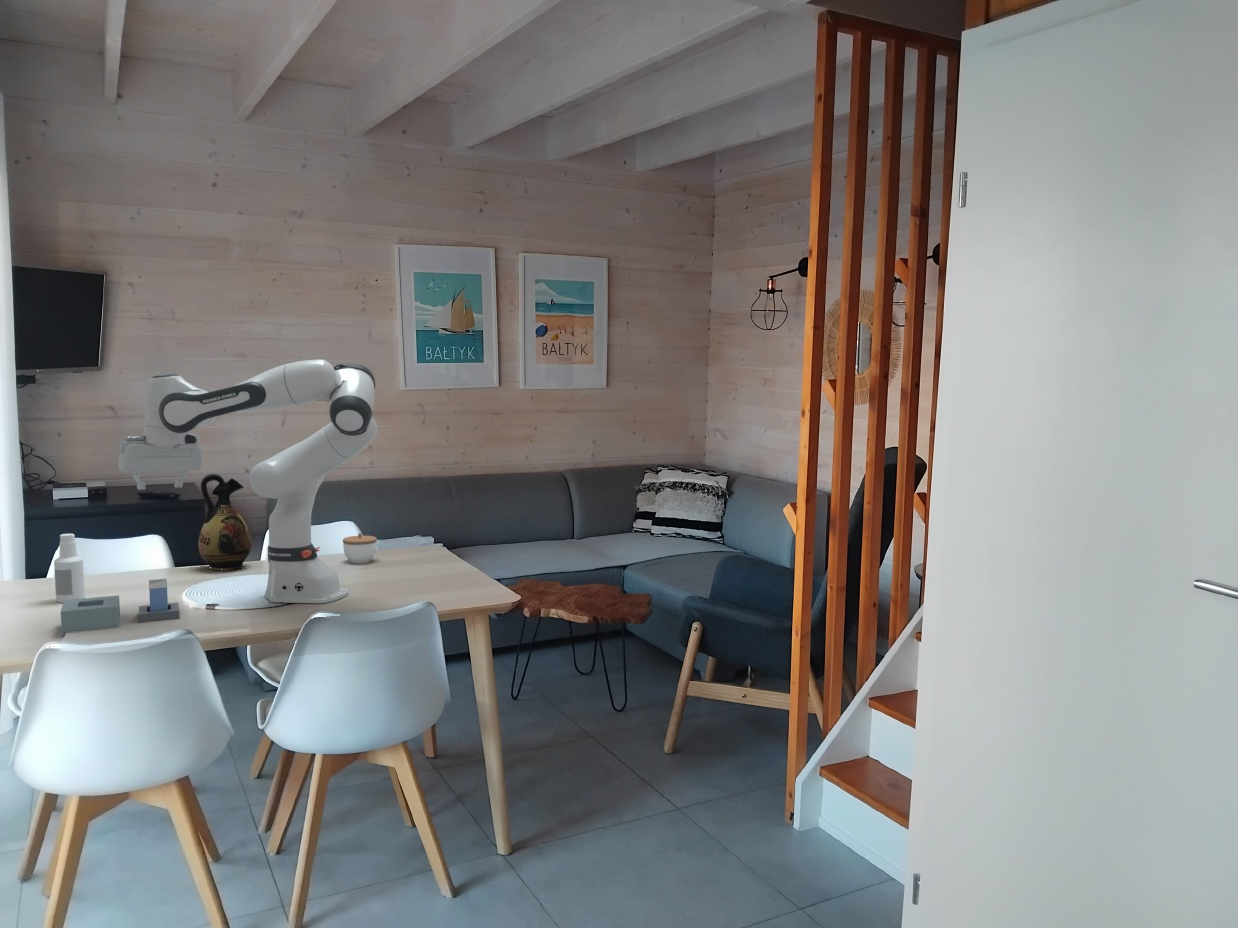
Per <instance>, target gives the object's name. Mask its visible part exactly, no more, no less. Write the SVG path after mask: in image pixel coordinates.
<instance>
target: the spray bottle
mask: <svg viewBox="0 0 1238 928" xmlns="http://www.w3.org/2000/svg"><path fill="white" fill-rule="evenodd" d="M75 536H76V535H75V534H74V533H62V534H59V538H60V539H59V557H58V558H56V559H54V560H53V564H54V565H53V567H54V585H55V601H56V602H57V603H61V604H63V602H64V600H72V599H84V598H85V597H86V596H85V595H86V594H85V573H84V559H83V558H82V557H80V556H78V552H77V542H76V540H75Z"/></svg>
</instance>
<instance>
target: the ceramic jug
mask: <svg viewBox="0 0 1238 928" xmlns="http://www.w3.org/2000/svg"><path fill="white" fill-rule="evenodd" d="M213 481H216V482H218V485H217V486H216V487H215V488H214V489H213V490H212V492H211V493H212V495H213V496H217V501H216V502H215V505H214V503H213V501H212V499H211V497H210V494H209V492H208V486H207V485H208V483H209V482H213ZM244 488H245V486H243V485H242V484H240V482H239V481H237V480H235V479H234V478H233V477H231V478H230V479H228V481H227V482H226V481H225V479H224V478H223V476H221V475H219V474H217V473H216V474H215V473H209V474H206V475H205V476H204V477H203V478H202V479H201V482H200V489H201V492H202V493H201V494H202V496H203V498H204V501H205V504H206V506H207V511H206V512H207V513H206V518H205V522H204V523H203V525H202V526H201V530H200V531H199V537H198V550H199V551H198V552H199V555H200V557H201V559H203V561H204V562H205V563H206V564H207V565H208V569H209V570H212V569H216V570H215V571H219V570H221V569H222V570H226V571H237V570H240V568H241V567H242V568H244V567H243V564H244V562H245V561H246V559H247V558H248V556H249V555H250V554H251V550H252V545H253V544H252V537H251V533H250V530H249V528H248V527H249V526H248V525H247V524H246V522H245V520H244V519H243V517H242V516H241V515H240V513H239V512H238V511H237V509H236V508H235V507H234V506H233V504H232V502H231V500H230V496H231V495H233V493H235V492H237V491H240V490H241V489H244ZM209 567H211V568H209ZM242 568H241V569H242ZM226 571H225V572H226Z"/></svg>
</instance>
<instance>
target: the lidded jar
mask: <svg viewBox="0 0 1238 928" xmlns="http://www.w3.org/2000/svg"><path fill="white" fill-rule="evenodd" d="M377 540H378V539H377V537H376V536H372V535H362V533H357V535H351V536H347V537H344V538H343V539H342V543H343V544H342V545H343V552H344V555H345V558H346V559H347V560H348V561H350V563H351V564H357V565H358V564H369V563H370V562H371V560H372V559H373V558H374V556H376V552H377V542H378V541H377Z"/></svg>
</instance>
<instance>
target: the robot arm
mask: <svg viewBox="0 0 1238 928" xmlns="http://www.w3.org/2000/svg"><path fill="white" fill-rule="evenodd" d="M145 388H146V389H145V397H144V410H145V419H144V421H143V433H142V434H143V435H141V436H139V435H137V436H131V435H130V436H126V437H124V438H122V439H121V440H120V441H119V444H118V445H119V448H118V450H119V457H118V463H117V467H118V470H119V471H120V472H121V473H123V474H132V477H133V478H134V480H135V482H136V488H137V490H139V491H143V490H146V488H147V487H146V485H147V483H146V482H144V481H143V480H141V477H142V474H144V473H163V472H165V473H167V472H178V474H179V477H178V479H174V485H173V486H174V488H176V489H180V488H181V489H183V484H184V483H183V482H184V481H185V480H186V478H187V476H188V474H189V473H188V472H192V471H193V472H195V471H197V472H198V471H200V470H201V468H202V467H203V451H202V447H201V446H200V445H199V444H200V442H201V437H200V436H199V435H197V434H194V433H191V432H190V431H193V430H197V429H199V428H200V429H201V428H204V427H207V426H211V425H212V424H214V423H216V421H218V420H219V418H220V416H224V415H227V414H232V413H235V412H241V411H249V410H252V411H253V410H280V409H282V410H283V409H288V408H294V407H295V408H296V407H298V406H303V405H307V404H309V403H313V402H325V403H330V405H329V412H328V413H329V418H330V422H329V423H328V424H326V425H324V427H322V428H321V429H319V430H317V431H316V432H314V433H313V434H312V435H310V436H308V437H307V438H305V439H303V440H302V441H300V442H298V443H295V444H294V445H292V446H290V447H288V448H285V449H284V450H282V451H280V452H278V453H276V454H275V455H273V456H271V457H269V458H268V459H265V460H263V461H261V462H259V463H257V464H256V465H254V467H253V468H252V469H251V470H250V473H249V484H250V487H251V489H252V491H253V492H254V493H255V494H256V495H257V496H258V497H261V498H266V499H275V500H276V499H277V502H276V505H275V508H274V509H273V511H272V512H271V513H270V515H269V517H268V543H269V545H268V546H267V559H268V565H269V566H268V578H267V584H266V589H265V592H264V598H266V599H267V598H268V601H269V603H281V602H283V603H285V604H286V603H290V604H291V603H292V604H325V603H331V602H335V601H337V600H340V599H342V598H344V597H346V596H347V595H348V594H349V589H348V588H343V587H341V586H340V585H341V584H340V580H339V575H338V572H336V570H334V569H333V568H332V567H330V566H329V565H327V564H326V563H325V562H324V561H322V560H321V559H320V558H319V557H318V554H317V553H318V552H320V551H321V546H318V547H315V546H314V544H313V543H312V513H313V512H312V511H313V508H314V503H315V499H316V496H317V494H318V490H319V488H320V487H321V485H322V483H323V482H324V480H325V476H326V475H327V474H330V473H332V472H334V470H336V469H337V468H339V467H341V466H342V465H344V464H345V463H346V462H349V461H350V460H351V459H352V458H354V457H355V456H357V455H358V454H360V453H361V452H362V451H364V449H366V448H367V447H368V446H369V445H370V444H372V442H374V440H375V439H376V437H377V435H378V432H379V431H378V430H379V429H378V428H379V427H378V424H377V422H376V419H375V418H374V417H373V411H374V405H375V401H376V397H375V395H376V394H375V390H376V380H375V377H374V374H373V373H372V371H371V369H369V368H368V367H367V366H365V365H362V364H358V363H347V364H342V363H339V364H337V365H335V366H333V365H332V364H331V363H330V362H329V361H328V360H325V359H318V358H317V359H305V360H299V361H294V362H290V363H286V364H282V365H279V366H276V367H272V368H270V369H268V370H266V371H263V372H262V373H259V374H258V375H257V374H256V376H255V375H254V376H253V377H251V378H249V379H245V380H244V381H242V382H239V383H237V384H235V385H232V386H229V387H225V388H220V389H217V390H211V391H207V390H204V389H201V388H199V387H197V386H194V385H193V384H191V383H189V382H188V381H186V380H185V379H184V378H183V377H182V376H181V375H179V374H176V373H175V374H174V373H172V374H171V373H170V374H160V375H158V374H157V375H154V376H152V377H151V378H149V379H148V381H147V384H146V387H145Z"/></svg>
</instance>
